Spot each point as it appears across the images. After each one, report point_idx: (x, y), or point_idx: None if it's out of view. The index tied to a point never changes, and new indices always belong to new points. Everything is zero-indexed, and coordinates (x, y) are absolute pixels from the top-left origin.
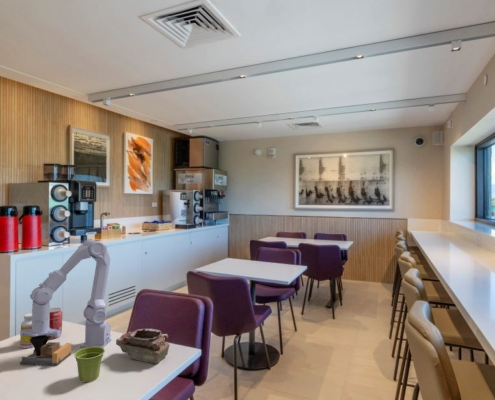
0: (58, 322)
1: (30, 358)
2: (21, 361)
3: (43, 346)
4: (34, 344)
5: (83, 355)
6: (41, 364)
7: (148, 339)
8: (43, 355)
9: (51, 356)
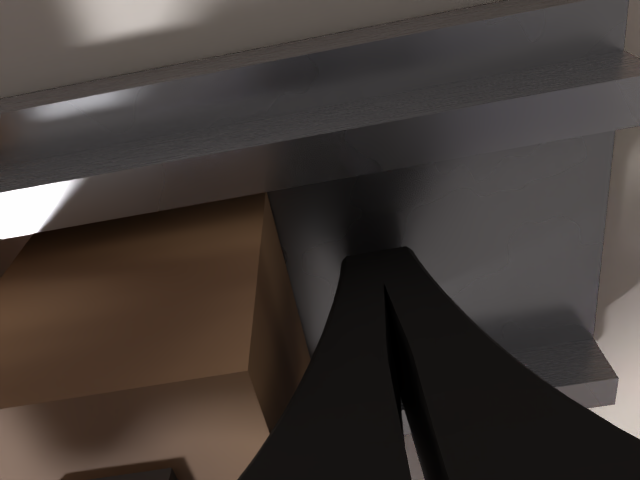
0: None
1: (428, 109)
2: (607, 29)
3: (215, 421)
4: (503, 417)
5: None
6: (129, 77)
7: None
8: (192, 245)
9: (20, 266)
